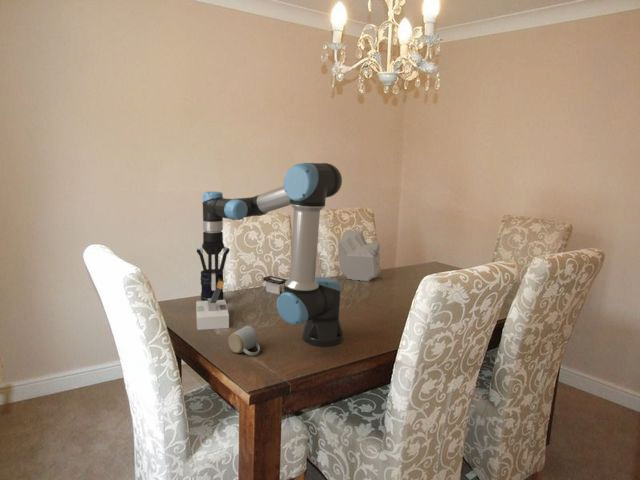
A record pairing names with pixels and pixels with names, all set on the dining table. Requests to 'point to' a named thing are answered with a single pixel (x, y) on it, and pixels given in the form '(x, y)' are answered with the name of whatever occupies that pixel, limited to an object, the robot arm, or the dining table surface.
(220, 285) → the switch lever
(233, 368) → the dining table surface
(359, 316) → the dining table surface
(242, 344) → the ceramic mug
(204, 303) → the switch box
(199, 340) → the dining table surface
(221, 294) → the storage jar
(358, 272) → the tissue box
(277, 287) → the grey bin
